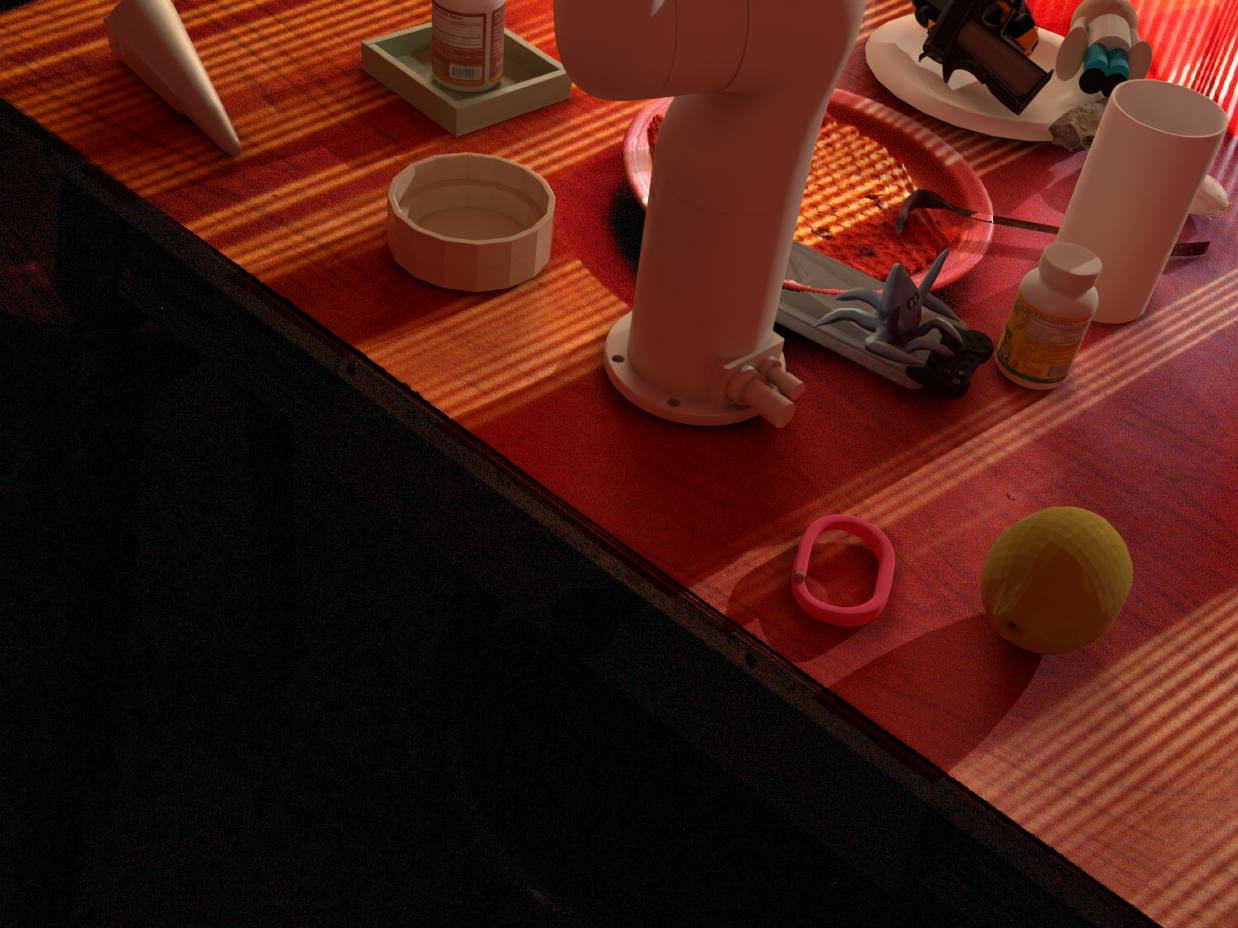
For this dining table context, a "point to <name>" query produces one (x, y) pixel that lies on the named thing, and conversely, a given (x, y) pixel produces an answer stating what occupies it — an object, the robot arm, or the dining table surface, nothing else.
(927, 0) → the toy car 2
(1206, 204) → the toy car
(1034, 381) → the supplement bottle
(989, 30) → the handgun
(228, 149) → the long tapered cone
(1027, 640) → the lemon
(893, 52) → the plate
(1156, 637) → the dining table surface
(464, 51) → the pill bottle
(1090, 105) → the stone
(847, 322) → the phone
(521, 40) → the tray
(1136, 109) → the cup
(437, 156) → the bowl
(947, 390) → the figurine
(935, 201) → the crowbar
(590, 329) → the dining table surface
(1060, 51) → the toy
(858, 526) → the fitness band
